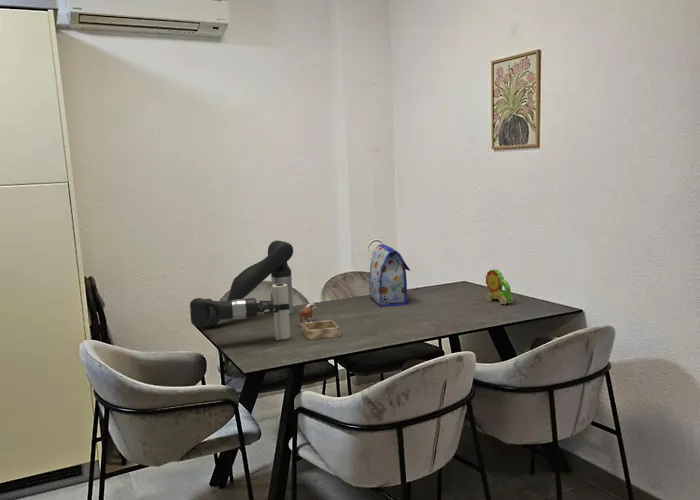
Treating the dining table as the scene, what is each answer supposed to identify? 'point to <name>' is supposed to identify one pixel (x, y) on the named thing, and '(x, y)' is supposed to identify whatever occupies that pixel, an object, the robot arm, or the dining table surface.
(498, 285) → the toy lion
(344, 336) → the dining table surface
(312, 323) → the wooden tray
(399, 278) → the lunch bag
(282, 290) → the paper towel roll
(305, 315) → the bull figurine
